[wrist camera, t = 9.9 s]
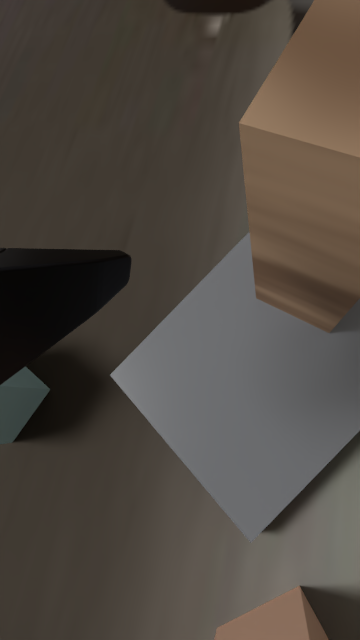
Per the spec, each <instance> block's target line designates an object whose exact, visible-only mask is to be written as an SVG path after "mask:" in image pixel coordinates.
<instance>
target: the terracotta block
mask: <svg viewBox="0 0 360 640" xmlns="http://www.w3.org/2000/svg"><path fill="white" fill-rule="evenodd" d="M214 640H329V639H328V637H327V635H326V633H325V632H324V630H323V628H322V626H321V624H320V622H319V621H318V619H317V617H316V615H315V613H314V611H313V610H312V608H311V606H310V604H309V602H308V600H307V598H306V597H305V595H304V593H303V591H302V589H301V587H300V586H298V587H296V588H294V589H292V590H290V591H288V592H286V593H284V594H282V595H280V596H279V597H277V598H275V599H273V600H271V601H269V602H267V603H265V604H263V605H261V606H259V607H257V608H255V609H253V610H251V611H249V612H247V613H245V614H243V615H241V616H240V617H238V618H236V619H234V620H232V621H230V622H228V623H226V624H224V625H222V626H220V627H218V628H217V630H216V635H215V639H214Z"/></svg>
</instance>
